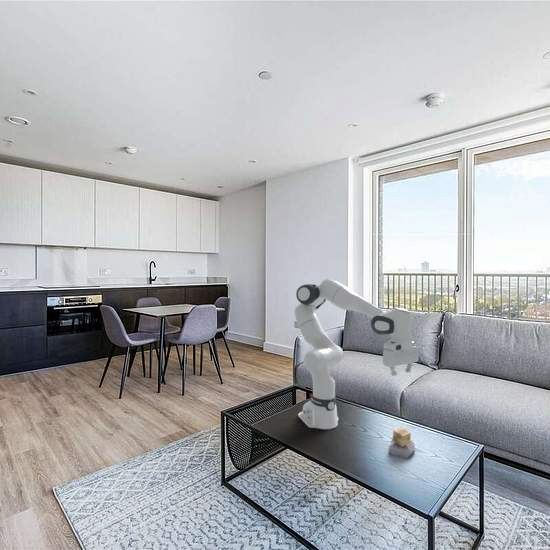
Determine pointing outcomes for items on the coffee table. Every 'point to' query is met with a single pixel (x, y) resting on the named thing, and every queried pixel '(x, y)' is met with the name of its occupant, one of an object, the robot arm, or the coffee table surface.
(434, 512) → the coffee table surface
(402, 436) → the oak cube
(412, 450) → the stone block
